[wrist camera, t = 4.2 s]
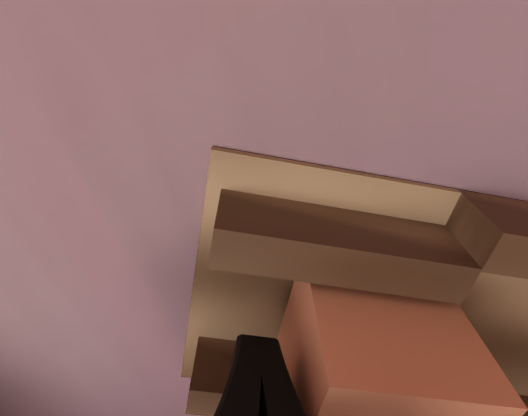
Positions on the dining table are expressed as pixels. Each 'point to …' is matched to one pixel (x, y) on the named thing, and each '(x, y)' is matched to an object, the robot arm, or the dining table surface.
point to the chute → (347, 256)
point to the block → (388, 356)
